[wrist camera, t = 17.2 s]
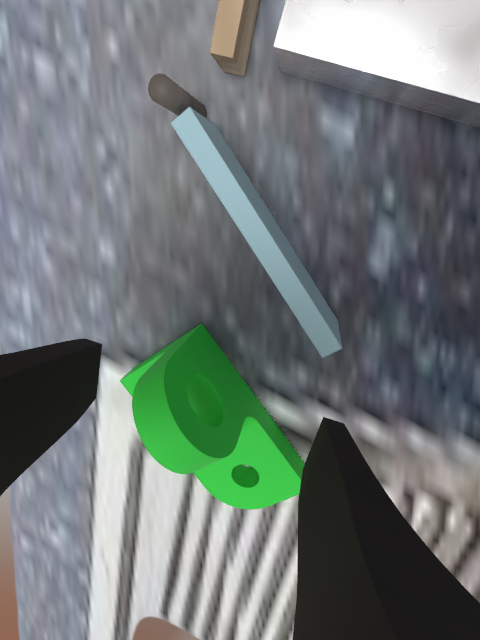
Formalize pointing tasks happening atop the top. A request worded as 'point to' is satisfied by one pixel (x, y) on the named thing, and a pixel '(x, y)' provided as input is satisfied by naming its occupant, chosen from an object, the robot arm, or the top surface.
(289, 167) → the top surface
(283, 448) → the mechanical part
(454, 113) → the block
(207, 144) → the bar
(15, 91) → the top surface
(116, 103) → the top surface
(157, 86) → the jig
